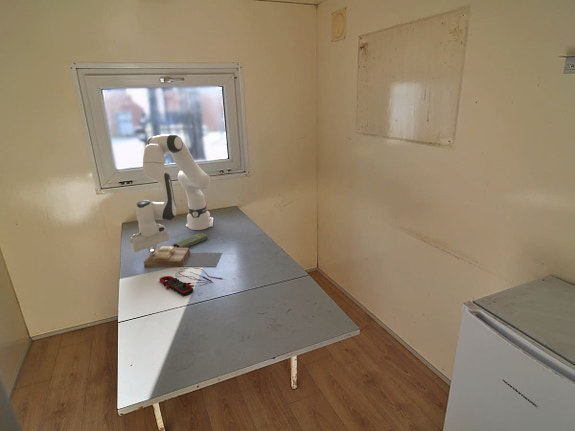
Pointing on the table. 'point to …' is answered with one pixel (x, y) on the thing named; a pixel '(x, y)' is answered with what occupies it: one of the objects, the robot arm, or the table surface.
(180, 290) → the digital clamp meter
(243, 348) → the table surface
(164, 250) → the tile
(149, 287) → the table surface
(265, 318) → the table surface
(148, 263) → the platform
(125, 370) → the table surface
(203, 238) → the handheld radio
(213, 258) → the mat
